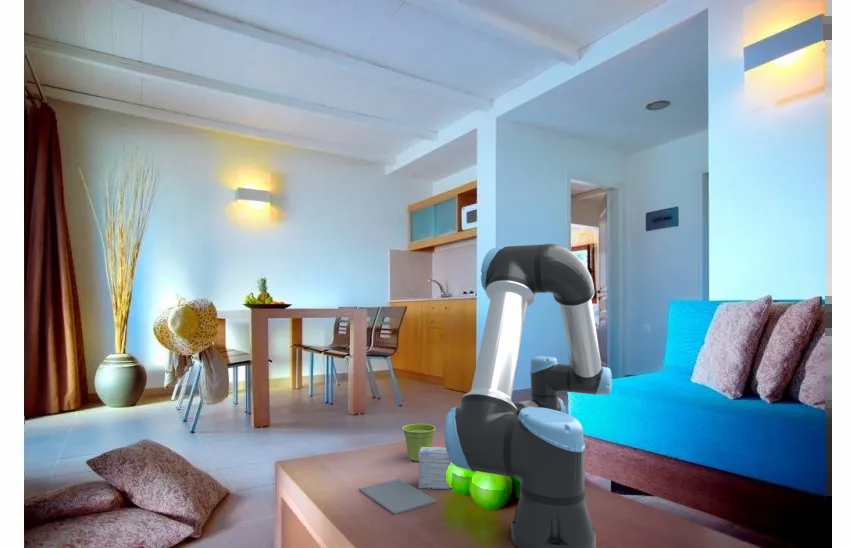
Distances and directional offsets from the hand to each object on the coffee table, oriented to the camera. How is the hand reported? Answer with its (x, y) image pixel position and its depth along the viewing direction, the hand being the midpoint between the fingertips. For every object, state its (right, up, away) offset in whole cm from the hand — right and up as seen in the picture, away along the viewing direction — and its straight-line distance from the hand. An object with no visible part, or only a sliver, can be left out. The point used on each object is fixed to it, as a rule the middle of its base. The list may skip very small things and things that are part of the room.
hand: (454, 430), depth 120 cm
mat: (-14, -12, -10) cm, 21 cm away
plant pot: (-9, -13, +16) cm, 23 cm away
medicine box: (-5, -12, -4) cm, 14 cm away
